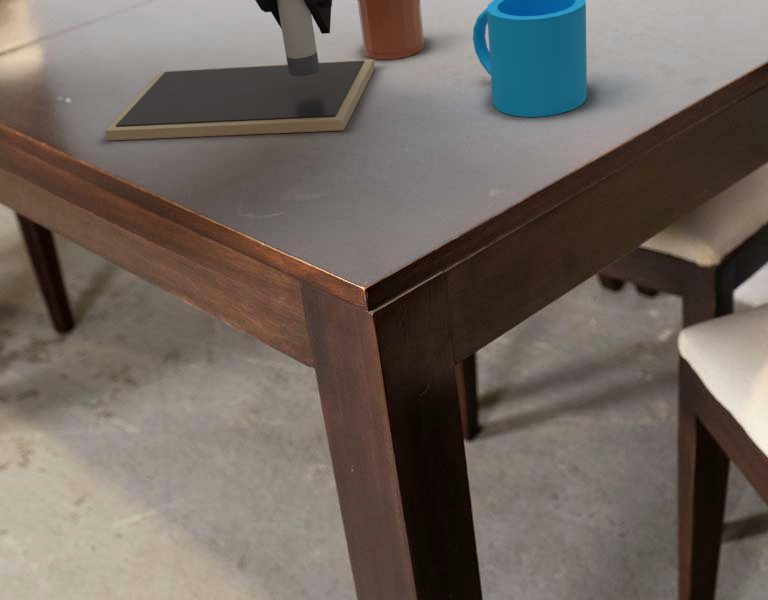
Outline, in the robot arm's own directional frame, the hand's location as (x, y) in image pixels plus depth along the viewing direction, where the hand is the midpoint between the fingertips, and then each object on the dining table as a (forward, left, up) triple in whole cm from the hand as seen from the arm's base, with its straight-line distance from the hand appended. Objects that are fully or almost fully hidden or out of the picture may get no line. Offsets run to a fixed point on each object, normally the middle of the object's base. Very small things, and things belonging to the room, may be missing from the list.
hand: (308, 20), depth 102 cm
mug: (+20, -5, -6) cm, 21 cm away
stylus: (0, -4, -3) cm, 5 cm away
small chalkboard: (-6, -4, -6) cm, 10 cm away
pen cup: (+6, +9, -6) cm, 13 cm away
